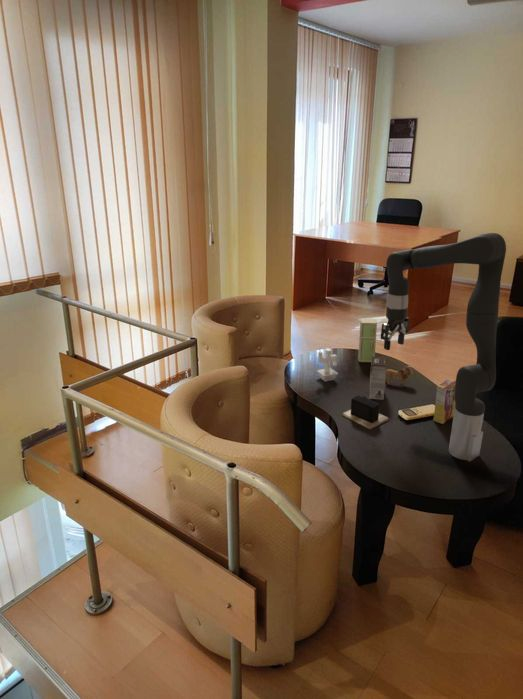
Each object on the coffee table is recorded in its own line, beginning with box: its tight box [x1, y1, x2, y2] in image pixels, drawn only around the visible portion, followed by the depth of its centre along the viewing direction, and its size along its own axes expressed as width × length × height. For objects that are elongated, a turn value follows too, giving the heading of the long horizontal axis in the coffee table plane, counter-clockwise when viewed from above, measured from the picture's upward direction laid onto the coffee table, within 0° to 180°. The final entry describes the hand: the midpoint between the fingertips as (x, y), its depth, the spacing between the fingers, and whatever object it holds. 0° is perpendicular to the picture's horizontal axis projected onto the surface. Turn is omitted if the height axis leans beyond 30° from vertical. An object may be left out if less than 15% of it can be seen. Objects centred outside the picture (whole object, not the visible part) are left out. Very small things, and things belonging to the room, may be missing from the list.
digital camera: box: [350, 395, 380, 423], centre depth 197 cm, size 10×5×7 cm, turn 43°
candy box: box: [433, 378, 456, 425], centre depth 195 cm, size 9×4×15 cm, turn 133°
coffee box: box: [368, 356, 388, 401], centre depth 215 cm, size 9×6×16 cm
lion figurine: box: [385, 365, 414, 387], centre depth 226 cm, size 15×5×9 cm, turn 79°
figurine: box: [316, 347, 339, 383], centre depth 230 cm, size 7×9×15 cm
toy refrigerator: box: [357, 317, 378, 363], centre depth 249 cm, size 8×7×21 cm
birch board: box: [342, 409, 389, 430], centre depth 199 cm, size 14×11×1 cm
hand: (393, 346), depth 190 cm, fingers open, 8 cm apart
